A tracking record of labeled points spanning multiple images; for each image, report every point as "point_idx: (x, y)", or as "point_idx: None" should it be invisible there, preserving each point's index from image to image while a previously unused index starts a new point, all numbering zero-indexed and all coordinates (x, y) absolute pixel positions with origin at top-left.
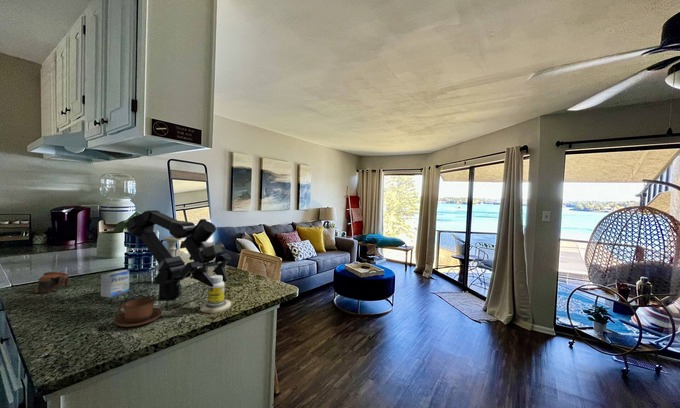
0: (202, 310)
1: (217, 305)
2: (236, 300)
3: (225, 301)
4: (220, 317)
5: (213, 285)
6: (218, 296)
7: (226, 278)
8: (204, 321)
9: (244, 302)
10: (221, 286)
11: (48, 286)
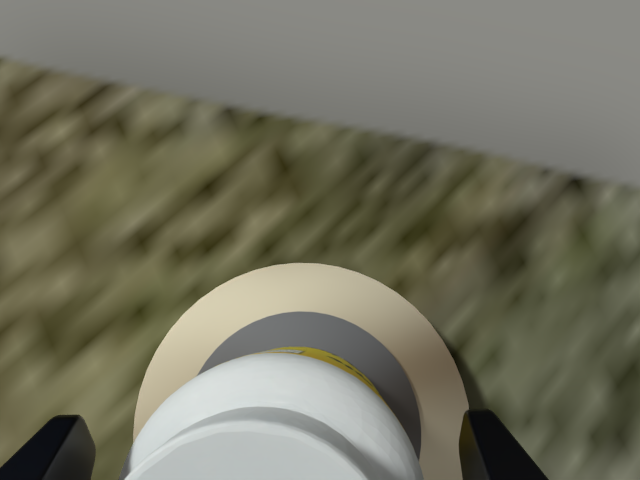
0: None
1: None
2: (37, 374)
3: None
4: (465, 191)
5: (409, 463)
6: (341, 361)
7: (37, 444)
8: (603, 257)
9: (55, 249)
10: (288, 357)
11: None
